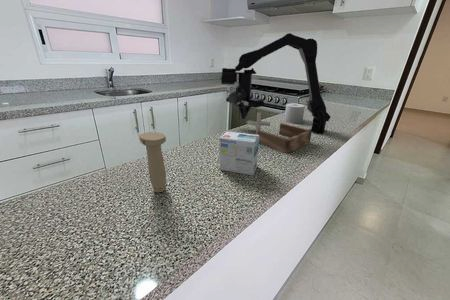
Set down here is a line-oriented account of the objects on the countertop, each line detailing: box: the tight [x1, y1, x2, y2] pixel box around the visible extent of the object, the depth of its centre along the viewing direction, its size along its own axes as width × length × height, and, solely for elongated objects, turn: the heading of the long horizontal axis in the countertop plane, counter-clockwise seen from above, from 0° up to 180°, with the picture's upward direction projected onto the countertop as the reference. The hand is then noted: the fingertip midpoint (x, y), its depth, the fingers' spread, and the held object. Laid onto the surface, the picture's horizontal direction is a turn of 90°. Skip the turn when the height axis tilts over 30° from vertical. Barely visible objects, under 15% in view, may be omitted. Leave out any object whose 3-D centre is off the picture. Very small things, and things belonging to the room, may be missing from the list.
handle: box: [138, 131, 167, 193], centre depth 52 cm, size 5×6×15 cm
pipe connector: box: [246, 111, 271, 135], centre depth 94 cm, size 10×10×10 cm
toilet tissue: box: [284, 103, 306, 124], centre depth 115 cm, size 9×13×9 cm
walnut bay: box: [256, 122, 313, 154], centre depth 85 cm, size 16×14×5 cm
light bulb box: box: [219, 131, 260, 176], centre depth 64 cm, size 11×7×11 cm, turn 71°
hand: (243, 119), depth 100 cm, fingers closed
